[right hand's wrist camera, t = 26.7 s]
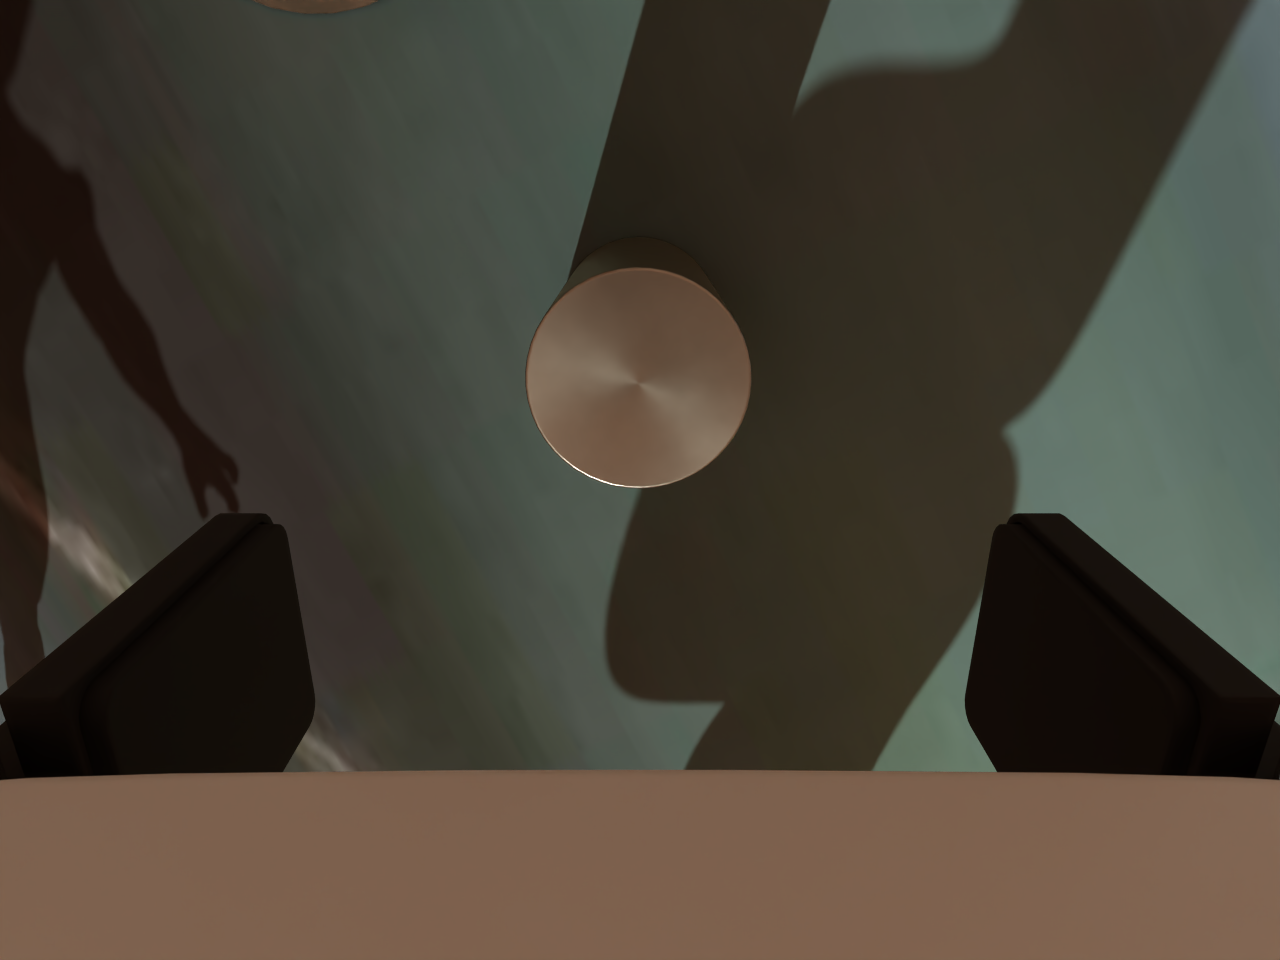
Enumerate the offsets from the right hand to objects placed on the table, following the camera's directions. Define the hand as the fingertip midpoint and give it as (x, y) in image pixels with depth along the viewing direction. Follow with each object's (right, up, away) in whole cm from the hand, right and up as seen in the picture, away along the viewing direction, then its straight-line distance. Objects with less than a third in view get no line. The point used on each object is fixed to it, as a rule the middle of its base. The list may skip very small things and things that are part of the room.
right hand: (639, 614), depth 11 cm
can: (0, +9, +24) cm, 26 cm away
